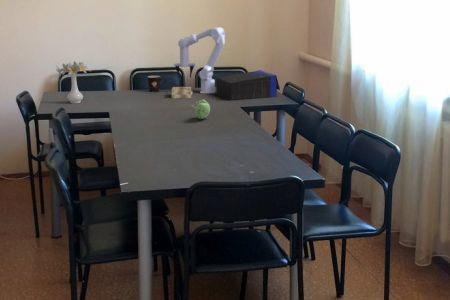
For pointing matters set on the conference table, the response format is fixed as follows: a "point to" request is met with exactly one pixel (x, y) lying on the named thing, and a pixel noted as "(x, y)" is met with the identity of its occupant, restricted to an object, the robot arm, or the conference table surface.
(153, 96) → the conference table surface
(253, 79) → the headphone box
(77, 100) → the flower vase
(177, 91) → the box
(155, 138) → the conference table surface
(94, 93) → the conference table surface
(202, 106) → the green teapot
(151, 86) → the coffee mug
